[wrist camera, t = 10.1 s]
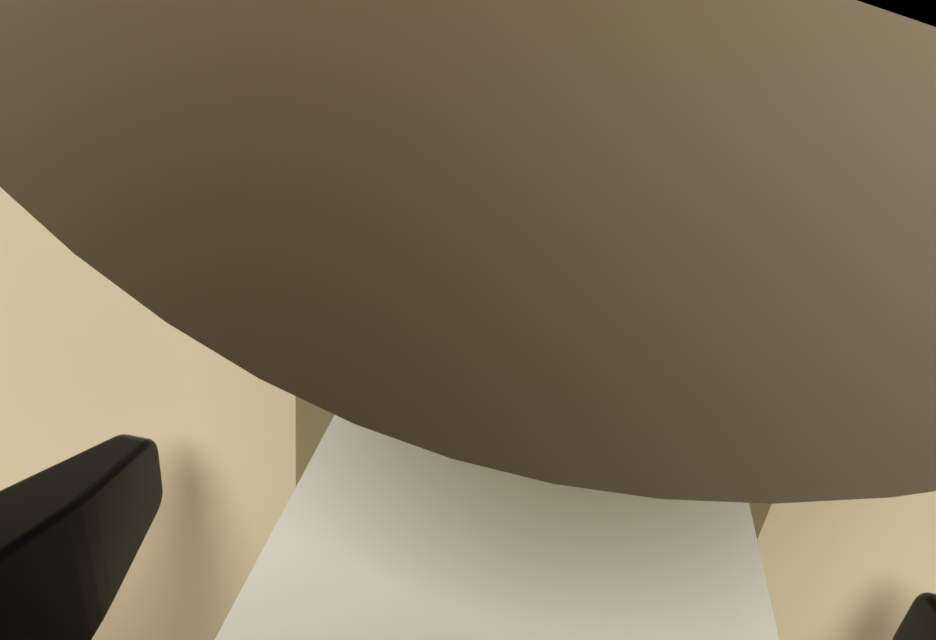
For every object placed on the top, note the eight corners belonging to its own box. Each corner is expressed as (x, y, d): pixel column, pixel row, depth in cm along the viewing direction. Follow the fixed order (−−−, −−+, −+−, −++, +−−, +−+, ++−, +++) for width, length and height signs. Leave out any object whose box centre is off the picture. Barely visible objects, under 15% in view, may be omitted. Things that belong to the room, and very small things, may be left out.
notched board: (1370, 307, 10) (1599, 431, 7) (1033, 737, 14) (1113, 897, 12) (-100, 74, 11) (-273, 119, 9) (12, 522, 16) (-88, 626, 14)
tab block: (641, 525, 12) (666, 1120, 6) (398, 477, 13) (206, 1000, 7) (706, 308, 11) (832, 874, 4) (417, 259, 11) (170, 720, 5)
